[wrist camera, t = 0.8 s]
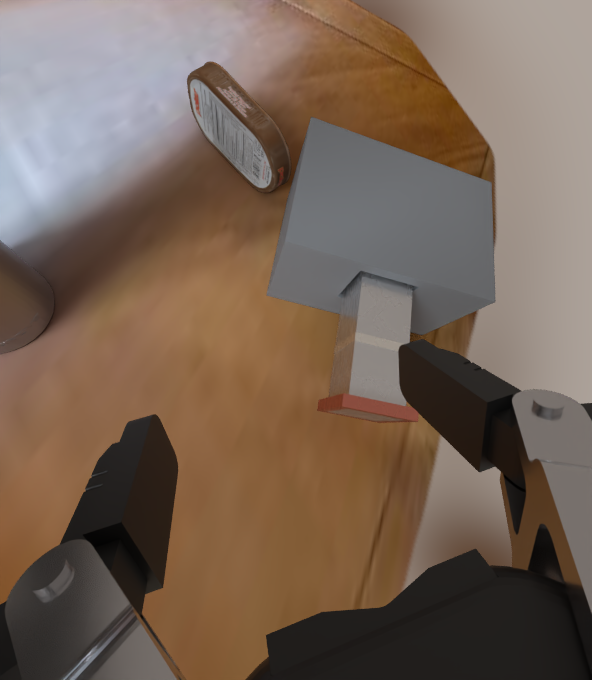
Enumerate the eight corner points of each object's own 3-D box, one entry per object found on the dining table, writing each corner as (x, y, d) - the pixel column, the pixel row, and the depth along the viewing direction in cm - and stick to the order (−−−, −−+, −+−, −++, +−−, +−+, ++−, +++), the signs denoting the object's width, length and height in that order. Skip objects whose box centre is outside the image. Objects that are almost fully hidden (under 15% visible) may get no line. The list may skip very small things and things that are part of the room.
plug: (379, 422, 30) (418, 421, 24) (317, 410, 29) (342, 406, 23) (390, 279, 35) (425, 249, 29) (338, 264, 34) (363, 229, 28)
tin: (285, 197, 40) (301, 140, 32) (267, 209, 38) (279, 153, 31) (206, 116, 40) (202, 39, 32) (186, 125, 39) (177, 49, 31)
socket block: (422, 335, 39) (495, 301, 28) (266, 295, 35) (285, 241, 25) (426, 241, 43) (491, 182, 33) (287, 197, 40) (311, 116, 29)
